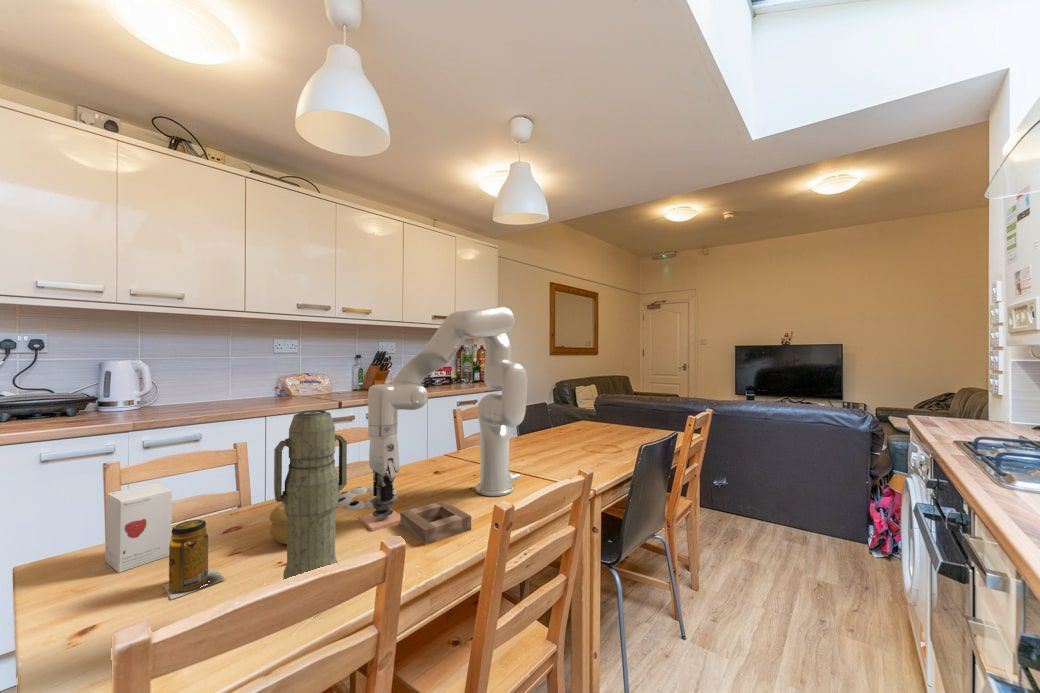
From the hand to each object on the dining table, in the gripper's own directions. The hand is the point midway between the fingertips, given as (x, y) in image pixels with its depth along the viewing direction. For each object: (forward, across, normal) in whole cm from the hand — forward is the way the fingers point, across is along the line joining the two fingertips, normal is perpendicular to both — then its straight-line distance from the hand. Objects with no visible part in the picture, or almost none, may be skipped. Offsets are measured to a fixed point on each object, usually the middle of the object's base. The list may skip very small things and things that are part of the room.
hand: (382, 496), depth 111 cm
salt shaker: (+4, 0, 0) cm, 4 cm away
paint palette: (+7, +20, -3) cm, 21 cm away
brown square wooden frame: (+6, -13, -9) cm, 17 cm away
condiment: (+6, -5, +40) cm, 41 cm away
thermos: (+6, -27, +24) cm, 37 cm away
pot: (+7, +3, +20) cm, 21 cm away
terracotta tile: (+6, 0, 0) cm, 6 cm away
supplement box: (+6, +15, +49) cm, 52 cm away
